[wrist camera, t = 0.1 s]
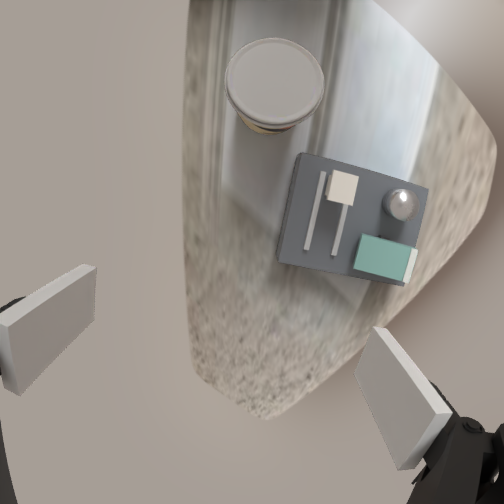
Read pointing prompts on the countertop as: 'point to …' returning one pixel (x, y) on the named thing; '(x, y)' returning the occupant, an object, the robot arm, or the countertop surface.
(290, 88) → the coffee cup
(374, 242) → the block
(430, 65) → the countertop surface
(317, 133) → the countertop surface
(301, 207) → the console
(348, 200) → the slider
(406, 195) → the plunger
